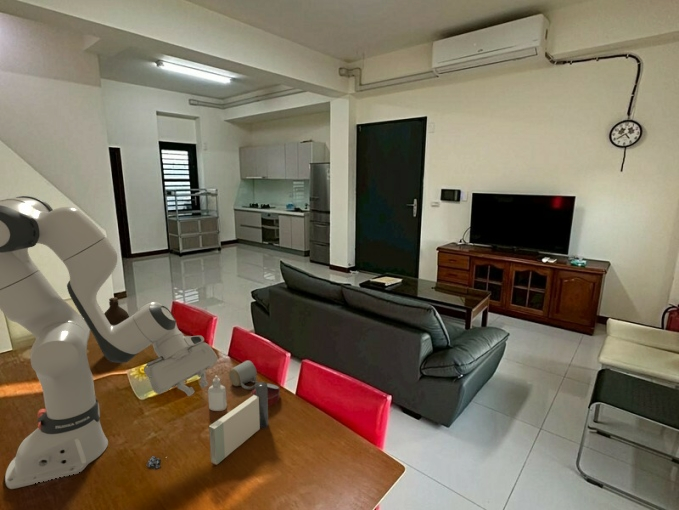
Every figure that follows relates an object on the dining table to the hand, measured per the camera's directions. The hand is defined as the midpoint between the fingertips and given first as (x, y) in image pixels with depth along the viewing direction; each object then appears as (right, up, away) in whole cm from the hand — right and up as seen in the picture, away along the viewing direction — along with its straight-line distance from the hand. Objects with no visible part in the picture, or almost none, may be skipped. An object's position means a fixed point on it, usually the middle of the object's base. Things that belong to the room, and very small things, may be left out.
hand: (198, 390), depth 106 cm
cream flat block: (+11, -16, +1) cm, 20 cm away
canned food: (+14, -12, +25) cm, 31 cm away
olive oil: (-59, -4, +59) cm, 83 cm away
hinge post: (+16, -15, +10) cm, 24 cm away
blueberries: (-9, -18, -6) cm, 21 cm away
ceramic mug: (+5, -10, +34) cm, 36 cm away
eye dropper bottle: (-1, -13, +19) cm, 23 cm away
